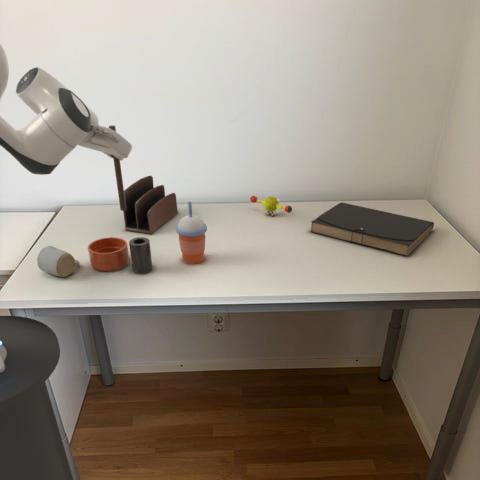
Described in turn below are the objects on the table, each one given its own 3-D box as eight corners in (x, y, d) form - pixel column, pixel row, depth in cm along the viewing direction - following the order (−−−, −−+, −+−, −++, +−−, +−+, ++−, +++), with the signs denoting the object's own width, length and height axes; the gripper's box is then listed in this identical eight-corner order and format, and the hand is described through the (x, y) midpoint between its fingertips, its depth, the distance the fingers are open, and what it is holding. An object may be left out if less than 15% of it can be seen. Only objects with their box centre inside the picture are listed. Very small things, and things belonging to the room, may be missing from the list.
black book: (310, 220, 168) (343, 200, 185) (309, 232, 170) (341, 211, 187) (409, 244, 152) (435, 219, 168) (406, 257, 154) (432, 231, 171)
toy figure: (295, 218, 180) (296, 200, 176) (286, 223, 177) (287, 205, 173) (256, 207, 190) (256, 189, 186) (246, 211, 186) (246, 193, 183)
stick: (124, 211, 140) (112, 126, 128) (119, 210, 140) (107, 126, 128) (127, 209, 141) (116, 125, 129) (122, 208, 142) (111, 125, 130)
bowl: (113, 275, 147) (110, 256, 143) (83, 267, 151) (79, 249, 148) (137, 259, 155) (134, 241, 152) (107, 252, 159) (104, 234, 156)
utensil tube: (145, 275, 146) (141, 246, 141) (129, 271, 148) (125, 243, 144) (156, 267, 151) (153, 239, 146) (140, 263, 153) (137, 235, 148)
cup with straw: (180, 267, 150) (175, 209, 140) (176, 254, 158) (172, 197, 148) (210, 264, 152) (208, 206, 142) (206, 251, 159) (203, 195, 149)
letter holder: (125, 230, 173) (119, 190, 165) (154, 210, 189) (150, 172, 181) (151, 234, 170) (146, 193, 162) (178, 213, 186) (175, 174, 178)
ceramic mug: (60, 282, 144) (55, 257, 139) (39, 275, 147) (33, 251, 143) (87, 267, 151) (82, 243, 147) (66, 261, 155) (61, 237, 151)
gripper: (113, 118, 116) (150, 153, 128) (61, 107, 127) (100, 140, 139) (100, 142, 116) (138, 175, 128) (49, 129, 127) (89, 160, 139)
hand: (118, 156), depth 133 cm, fingers closed on stick, 2 cm apart
